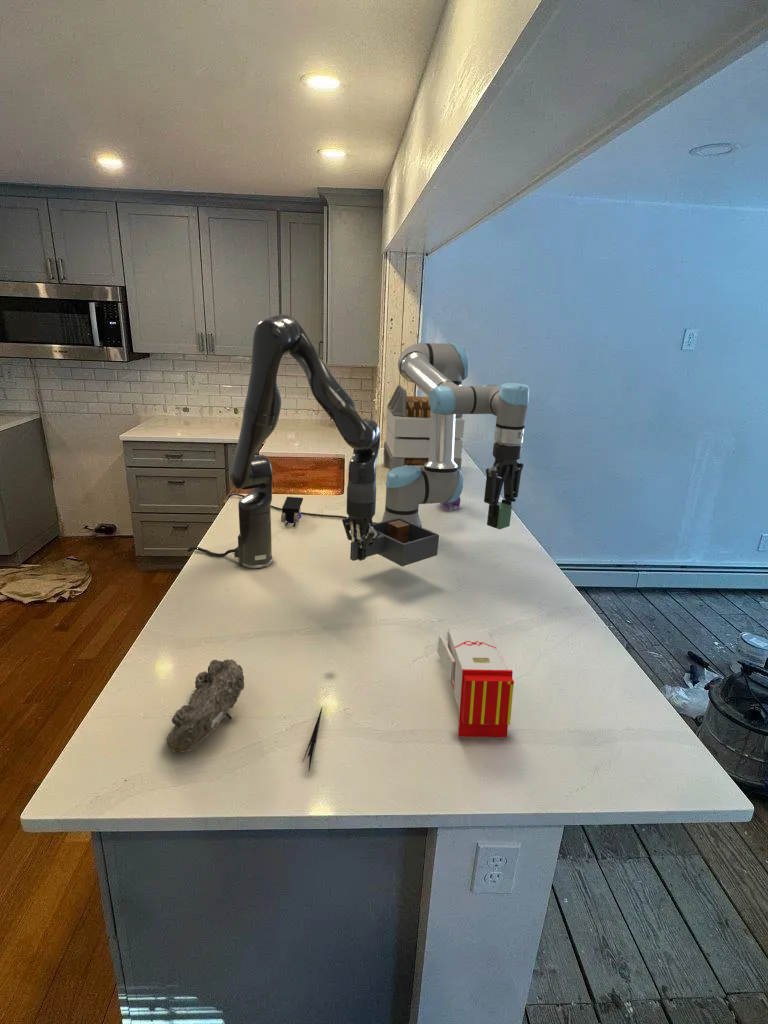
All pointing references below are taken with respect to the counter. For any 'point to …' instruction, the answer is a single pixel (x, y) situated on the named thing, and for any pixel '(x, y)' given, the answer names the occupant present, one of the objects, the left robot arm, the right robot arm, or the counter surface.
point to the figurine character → (291, 510)
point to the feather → (313, 740)
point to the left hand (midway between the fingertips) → (359, 558)
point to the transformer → (413, 431)
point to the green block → (503, 516)
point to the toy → (478, 682)
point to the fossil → (206, 705)
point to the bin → (401, 544)
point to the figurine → (450, 505)
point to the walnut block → (398, 531)
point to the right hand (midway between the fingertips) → (498, 524)
